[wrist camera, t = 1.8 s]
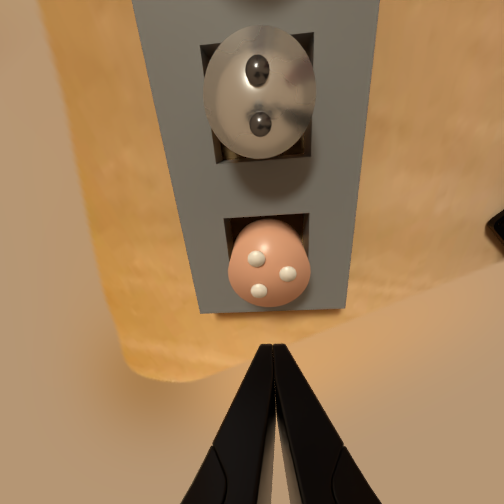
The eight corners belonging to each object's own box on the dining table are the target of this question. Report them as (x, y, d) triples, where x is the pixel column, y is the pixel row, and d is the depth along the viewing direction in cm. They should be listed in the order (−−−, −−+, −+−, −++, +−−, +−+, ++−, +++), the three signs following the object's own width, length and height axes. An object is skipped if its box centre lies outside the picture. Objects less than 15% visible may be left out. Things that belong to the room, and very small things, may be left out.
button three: (229, 220, 15) (222, 239, 12) (303, 216, 14) (312, 234, 12) (237, 282, 17) (232, 309, 14) (302, 279, 16) (309, 306, 14)
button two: (209, 55, 11) (192, 31, 8) (305, 44, 11) (319, 16, 8) (221, 157, 13) (211, 163, 10) (304, 150, 13) (314, 154, 10)
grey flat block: (95, -279, 9) (40, -416, 6) (390, -344, 8) (438, -524, 6) (207, 293, 20) (200, 313, 17) (335, 288, 19) (345, 308, 17)
